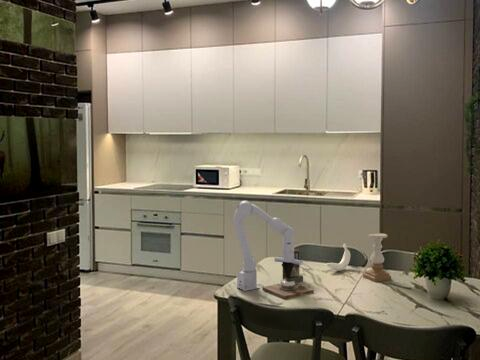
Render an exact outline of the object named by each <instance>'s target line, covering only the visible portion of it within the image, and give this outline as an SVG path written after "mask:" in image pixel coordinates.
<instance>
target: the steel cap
mask: <svg viewBox="0 0 480 360" xmlns="http://www.w3.org/2000/svg"><path fill="white" fill-rule="evenodd" d="M303 282H304V276H303V275H302V274H299V275H298V276H293V277H288V278H287V279H283V278H282V279H281V280H280V283H281V287H283V288H294V287H295V283H296V284H301V283H303Z"/></svg>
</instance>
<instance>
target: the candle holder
mask: <svg viewBox="0 0 480 360" xmlns="http://www.w3.org/2000/svg"><path fill="white" fill-rule="evenodd" d="M367 237H369V238H372V240H373V244H372V248H373V252H372V254H371V256H370V262H371V265H370V266H371V269H370V270H365V271H364V273H362V278H364V279H366V280H369V281H370V282H371V281H372V282H373V283H376V282H377V283H378V282H386V281H392V276H391V275H390V273H389V272H387V271H385V270H384V269H383V268H384V265H383V263H384V262H385V257H384V255H383V253H382V251H381V250H382V248H383V245H382V241H383V240H384V239H386V238H388V234H387V233H381V232H369V233H368V234H367Z"/></svg>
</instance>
